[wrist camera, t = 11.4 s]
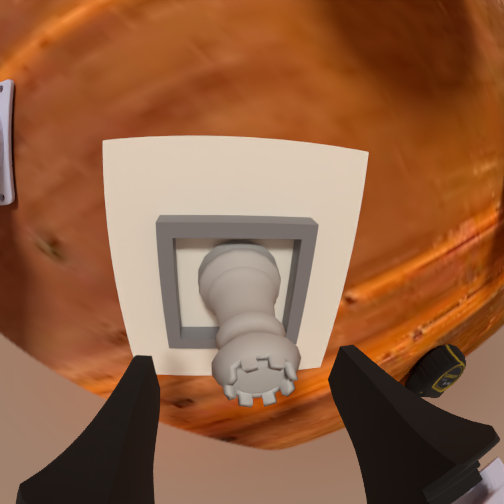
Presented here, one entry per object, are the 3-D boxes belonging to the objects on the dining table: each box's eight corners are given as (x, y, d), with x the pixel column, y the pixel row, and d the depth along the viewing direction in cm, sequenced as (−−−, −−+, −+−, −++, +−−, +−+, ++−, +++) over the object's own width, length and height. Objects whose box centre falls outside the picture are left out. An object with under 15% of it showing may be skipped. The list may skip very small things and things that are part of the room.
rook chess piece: (279, 298, 17) (321, 406, 10) (206, 311, 17) (210, 426, 9) (273, 230, 15) (329, 325, 8) (190, 243, 15) (176, 352, 7)
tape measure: (396, 378, 25) (411, 402, 22) (438, 332, 23) (457, 354, 20) (422, 383, 27) (435, 403, 24) (458, 343, 25) (475, 363, 22)
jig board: (139, 365, 19) (135, 385, 17) (108, 139, 12) (93, 141, 11) (317, 360, 21) (324, 377, 19) (361, 150, 15) (380, 154, 13)
